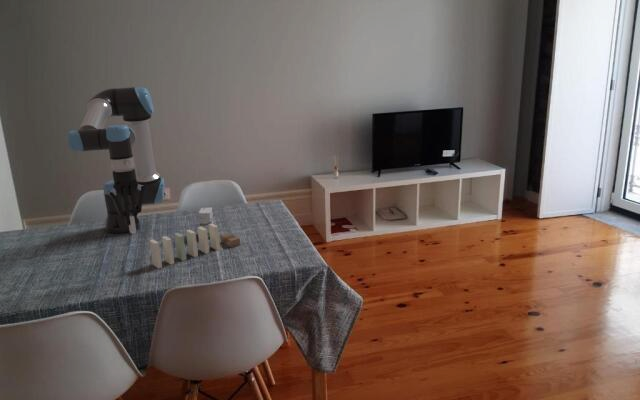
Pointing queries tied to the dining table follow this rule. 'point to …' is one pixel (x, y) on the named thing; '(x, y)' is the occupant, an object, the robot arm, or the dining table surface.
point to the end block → (230, 240)
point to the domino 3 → (180, 246)
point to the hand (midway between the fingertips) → (133, 232)
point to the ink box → (206, 218)
